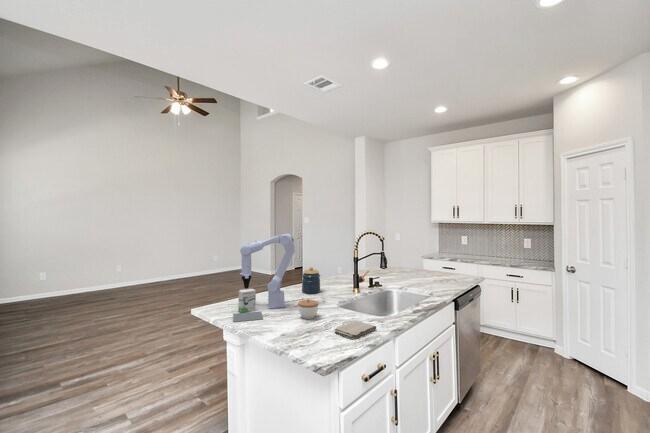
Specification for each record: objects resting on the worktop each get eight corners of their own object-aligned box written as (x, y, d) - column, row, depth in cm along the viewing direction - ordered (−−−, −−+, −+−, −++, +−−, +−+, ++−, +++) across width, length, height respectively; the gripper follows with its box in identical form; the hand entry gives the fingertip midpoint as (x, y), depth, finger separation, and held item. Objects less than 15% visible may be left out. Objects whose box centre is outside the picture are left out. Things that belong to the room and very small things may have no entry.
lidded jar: (309, 312, 174) (309, 295, 174) (322, 317, 167) (322, 299, 166) (294, 316, 167) (294, 299, 167) (307, 321, 159) (307, 303, 159)
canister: (320, 294, 213) (320, 268, 213) (301, 294, 213) (301, 268, 213) (320, 289, 226) (320, 265, 226) (302, 289, 226) (302, 265, 226)
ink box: (241, 313, 173) (241, 292, 173) (238, 311, 177) (238, 290, 177) (255, 310, 178) (255, 289, 178) (252, 308, 182) (252, 288, 182)
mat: (261, 312, 174) (261, 311, 174) (263, 319, 162) (263, 318, 162) (233, 314, 170) (233, 313, 170) (233, 322, 158) (233, 321, 158)
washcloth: (332, 334, 144) (332, 327, 144) (357, 324, 157) (357, 318, 157) (353, 341, 136) (353, 334, 136) (376, 330, 149) (376, 324, 149)
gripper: (239, 264, 192) (239, 285, 193) (239, 267, 178) (239, 291, 179) (251, 263, 194) (251, 285, 195) (252, 267, 180) (252, 290, 181)
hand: (246, 288), depth 187 cm, fingers closed
